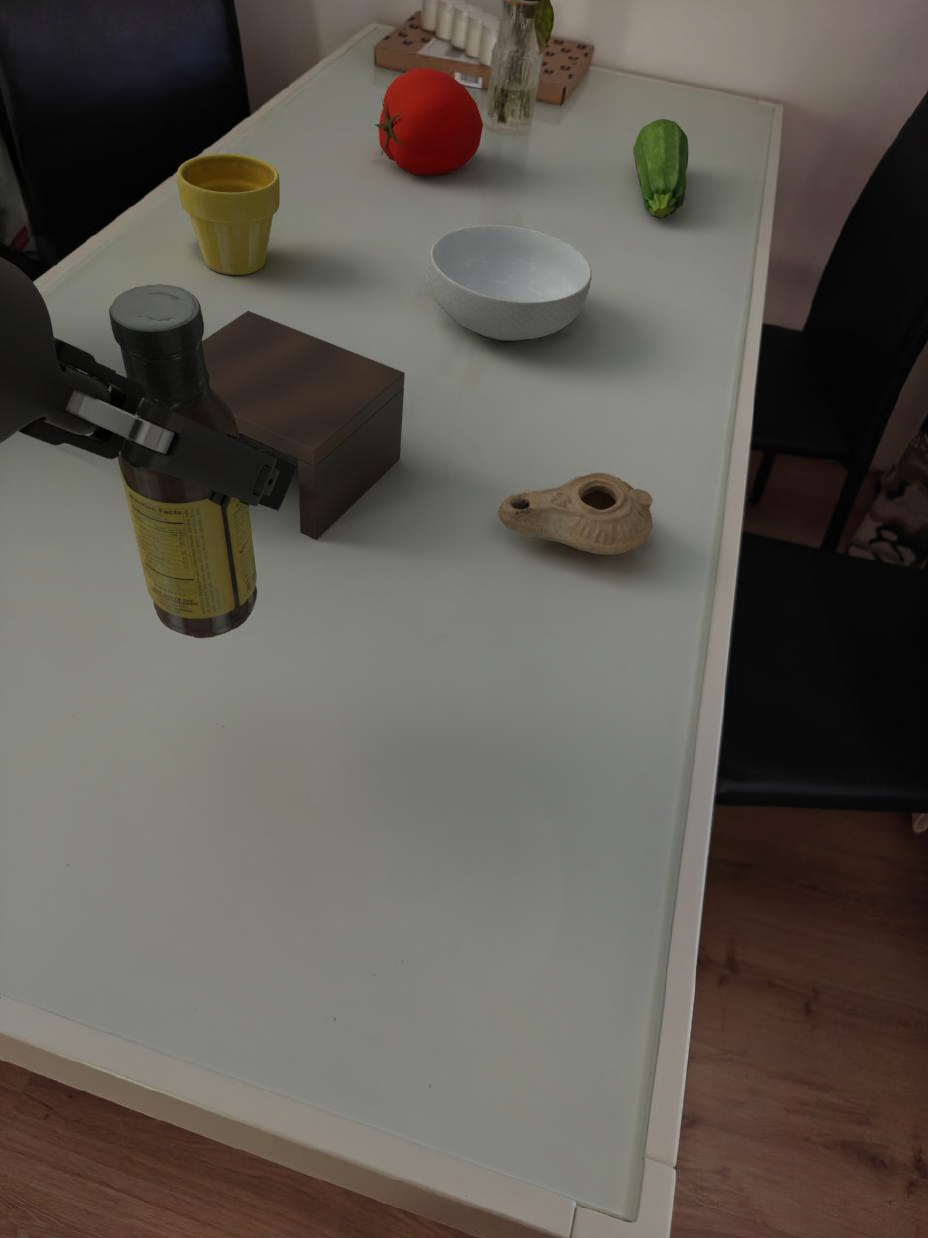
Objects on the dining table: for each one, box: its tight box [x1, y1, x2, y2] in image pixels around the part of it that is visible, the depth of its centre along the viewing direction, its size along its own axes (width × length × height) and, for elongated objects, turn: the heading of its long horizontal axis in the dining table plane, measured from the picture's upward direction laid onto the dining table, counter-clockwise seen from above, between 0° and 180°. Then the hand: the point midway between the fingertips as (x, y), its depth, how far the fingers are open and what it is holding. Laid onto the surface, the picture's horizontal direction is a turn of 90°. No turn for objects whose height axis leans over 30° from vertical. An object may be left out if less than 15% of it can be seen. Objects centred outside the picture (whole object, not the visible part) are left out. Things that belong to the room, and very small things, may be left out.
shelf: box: [202, 310, 406, 541], centre depth 83 cm, size 16×13×9 cm
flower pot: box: [176, 152, 281, 276], centre depth 107 cm, size 10×10×10 cm
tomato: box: [374, 67, 484, 176], centre depth 128 cm, size 13×13×13 cm
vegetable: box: [632, 118, 689, 219], centre depth 130 cm, size 7×7×20 cm
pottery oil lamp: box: [497, 472, 654, 555], centre depth 81 cm, size 9×12×7 cm
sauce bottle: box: [108, 283, 258, 639], centre depth 52 cm, size 6×6×20 cm
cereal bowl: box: [428, 224, 593, 342], centre depth 104 cm, size 17×17×7 cm
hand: (231, 462), depth 55 cm, fingers closed on sauce bottle, 6 cm apart
